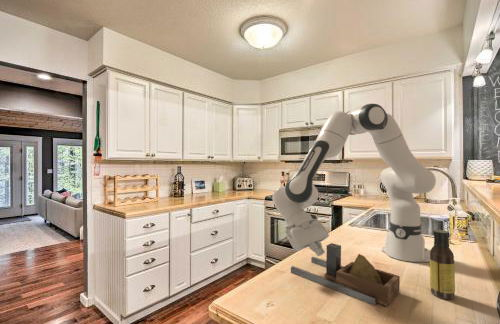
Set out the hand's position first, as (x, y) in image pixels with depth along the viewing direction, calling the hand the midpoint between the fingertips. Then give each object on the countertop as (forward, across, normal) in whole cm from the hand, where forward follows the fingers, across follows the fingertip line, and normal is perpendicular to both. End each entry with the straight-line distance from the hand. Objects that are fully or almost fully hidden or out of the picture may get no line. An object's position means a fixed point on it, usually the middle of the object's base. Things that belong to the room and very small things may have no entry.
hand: (321, 254), depth 95 cm
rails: (+10, 0, 0) cm, 10 cm away
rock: (+16, +1, -6) cm, 17 cm away
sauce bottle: (+29, +14, -19) cm, 37 cm away
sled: (+14, 0, -5) cm, 15 cm away
